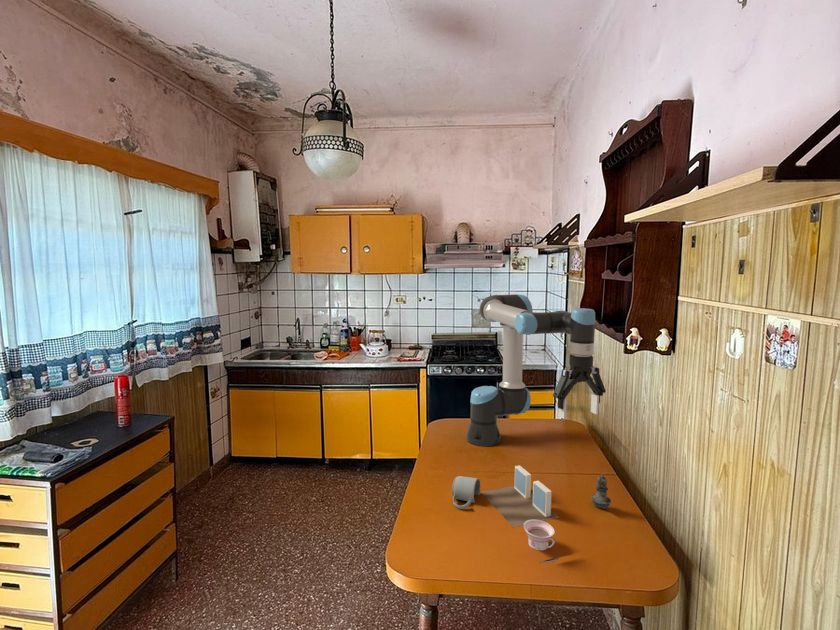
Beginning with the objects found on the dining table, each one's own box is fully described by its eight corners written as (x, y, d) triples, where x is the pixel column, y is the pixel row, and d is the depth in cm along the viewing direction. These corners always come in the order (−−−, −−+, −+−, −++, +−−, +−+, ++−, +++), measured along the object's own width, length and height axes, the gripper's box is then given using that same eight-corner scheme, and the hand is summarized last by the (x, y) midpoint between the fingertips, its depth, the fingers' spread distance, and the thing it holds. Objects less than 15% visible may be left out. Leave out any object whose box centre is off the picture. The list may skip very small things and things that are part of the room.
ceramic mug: (457, 491, 149) (457, 470, 148) (480, 496, 146) (481, 474, 145) (447, 507, 139) (447, 485, 138) (471, 513, 136) (471, 490, 135)
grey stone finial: (586, 506, 139) (588, 471, 138) (600, 503, 142) (602, 468, 140) (600, 516, 134) (602, 480, 133) (614, 512, 136) (616, 476, 135)
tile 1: (514, 488, 148) (514, 466, 148) (518, 487, 149) (519, 465, 148) (525, 498, 142) (526, 475, 141) (530, 497, 143) (531, 474, 142)
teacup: (507, 547, 120) (508, 526, 119) (532, 529, 127) (533, 510, 127) (545, 570, 111) (546, 548, 110) (570, 550, 118) (571, 529, 118)
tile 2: (532, 505, 138) (532, 481, 137) (537, 504, 139) (538, 480, 138) (545, 517, 132) (546, 492, 131) (550, 515, 132) (551, 491, 131)
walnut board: (480, 495, 146) (480, 491, 146) (521, 487, 151) (521, 484, 151) (513, 531, 126) (513, 527, 126) (559, 521, 132) (559, 517, 131)
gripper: (558, 359, 137) (555, 423, 140) (618, 354, 146) (615, 414, 148) (543, 354, 144) (541, 416, 147) (602, 350, 153) (599, 407, 155)
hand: (578, 415), depth 147 cm, fingers open, 13 cm apart
